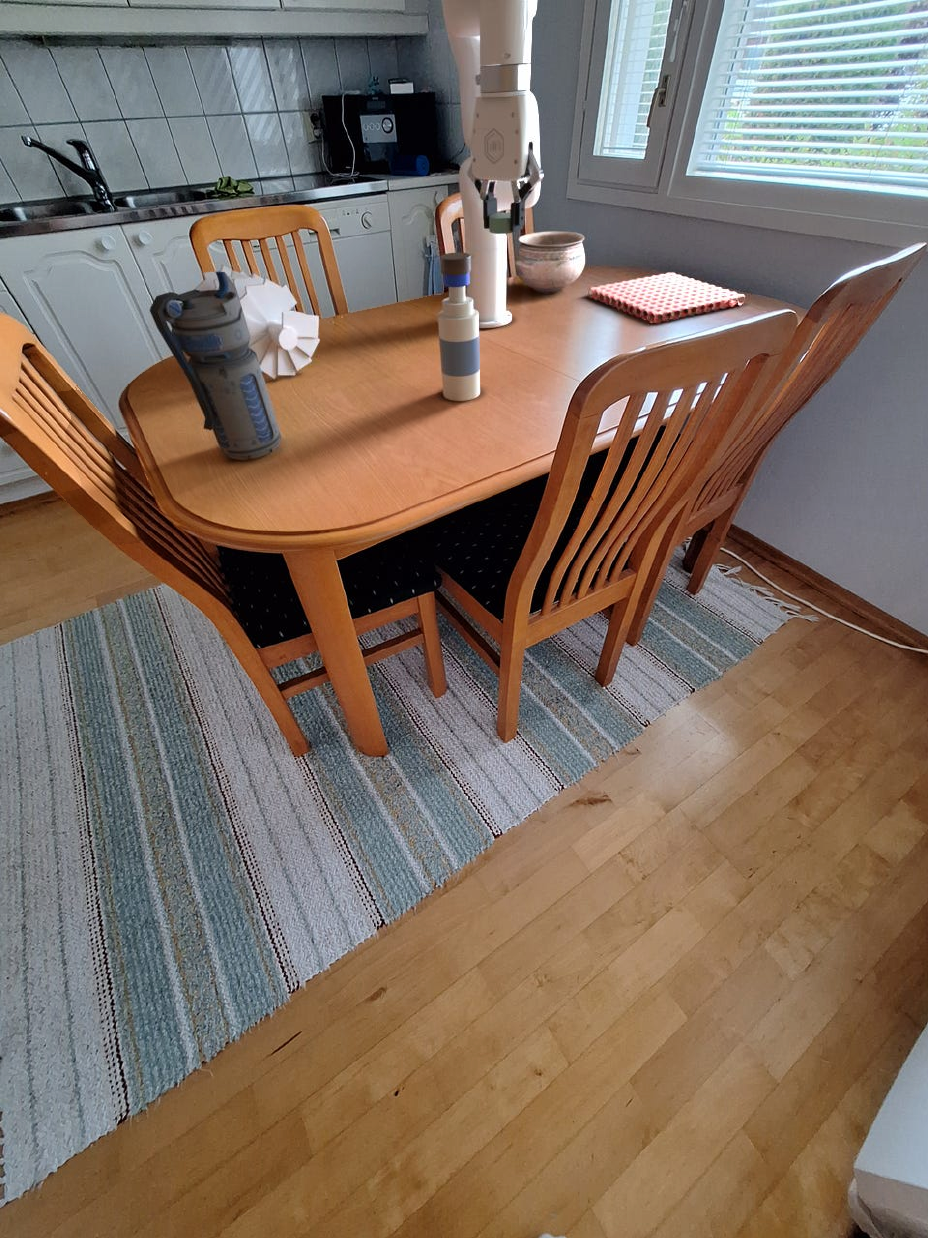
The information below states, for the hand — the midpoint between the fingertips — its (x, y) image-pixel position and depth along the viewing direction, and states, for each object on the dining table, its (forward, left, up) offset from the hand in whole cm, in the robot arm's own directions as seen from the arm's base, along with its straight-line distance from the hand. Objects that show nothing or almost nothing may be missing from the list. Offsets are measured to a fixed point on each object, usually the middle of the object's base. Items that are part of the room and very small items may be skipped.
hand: (503, 227), depth 93 cm
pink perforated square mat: (-23, +57, -24) cm, 66 cm away
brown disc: (+7, -12, -4) cm, 15 cm away
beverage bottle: (+12, -53, -24) cm, 60 cm away
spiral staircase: (-27, -45, -24) cm, 58 cm away
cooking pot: (-47, +36, -24) cm, 64 cm away
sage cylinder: (0, 0, -1) cm, 1 cm away
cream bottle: (+7, -12, -24) cm, 28 cm away
